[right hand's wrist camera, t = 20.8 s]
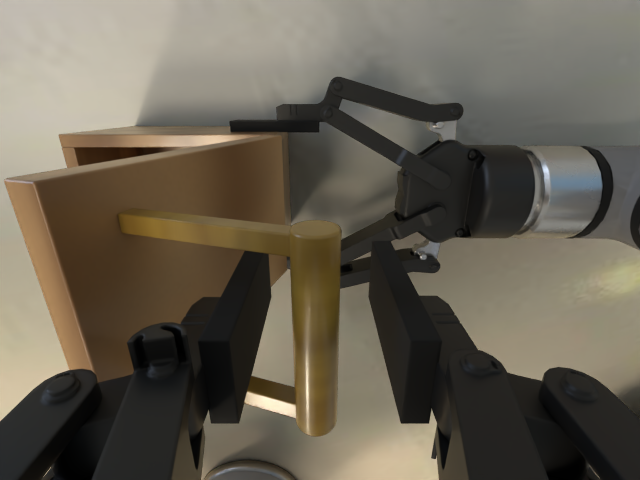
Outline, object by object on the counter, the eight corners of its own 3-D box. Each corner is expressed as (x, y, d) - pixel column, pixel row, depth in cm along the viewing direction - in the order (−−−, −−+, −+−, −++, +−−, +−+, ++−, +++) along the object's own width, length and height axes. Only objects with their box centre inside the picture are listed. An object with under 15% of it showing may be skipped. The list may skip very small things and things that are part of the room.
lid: (92, 440, 12) (312, 525, 10) (1, 178, 9) (307, 207, 6) (272, 267, 26) (386, 285, 23) (265, 134, 22) (398, 138, 20)
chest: (152, 223, 35) (93, 265, 26) (133, 126, 32) (57, 134, 23) (291, 223, 35) (280, 265, 26) (287, 126, 32) (274, 134, 23)
